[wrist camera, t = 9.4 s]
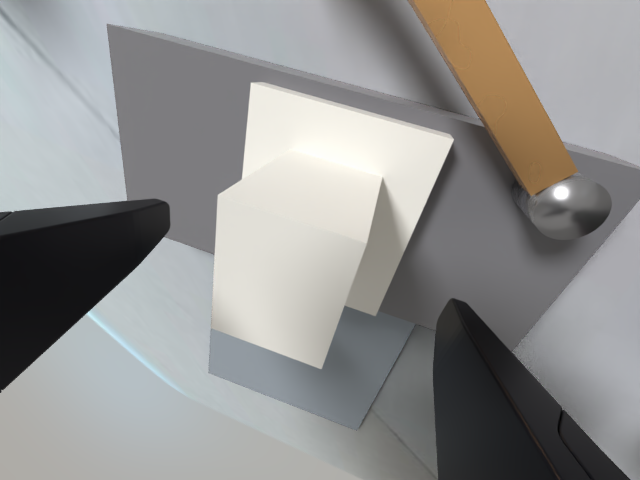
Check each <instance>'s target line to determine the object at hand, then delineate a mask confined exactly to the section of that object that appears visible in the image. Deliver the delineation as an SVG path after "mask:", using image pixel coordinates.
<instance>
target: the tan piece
mask: <svg viewBox="0 0 640 480" xmlns="http://www.w3.org/2000/svg"><path fill="white" fill-rule="evenodd" d="M408 1H409V3H410V5H411V6H412V8H413V10H414V11H415V13H416V15H417V16H418V18H419V20H420V21H421V23H422V24H423V26H424V28H425V29H426V31H427V33H428V34H429V36H430V38H431V39H432V41H433V43H434V44H435V46H436V48H437V49H438V51H439V52H440V54H441V56H442V57H443V59H444V61H445V62H446V64H447V66H448V67H449V69H450V71H451V72H452V74H453V76H454V77H455V79H456V81H457V82H458V84H459V85H460V87H461V89H462V90H463V92H464V94H465V95H466V97H467V99H468V100H469V102H470V104H471V105H472V107H473V109H474V110H475V112H476V113H477V115H478V117H479V118H480V120H481V122H482V123H483V125H484V127H485V128H486V130H487V132H488V133H489V135H490V137H491V138H492V140H493V141H494V143H495V145H496V146H497V148H498V150H499V151H500V153H501V155H502V156H503V158H504V160H505V161H506V163H507V165H508V166H509V168H510V169H511V171H512V173H513V174H514V176H515V178H516V179H515V181H514V183H513V186H512V197H513V200H514V201H515V203H516V204H517V205H518V206H519V208H520V209H521V210H522V211H523V212H524V213H525V215H526V216H527V217H528V218H529V219H530V220H531V222H532V223H533V224H534V225H535V226H536V228H537V229H538V230H539V231H540V232H541V233H542V234H544V235H545V236H547V237H550V238H552V239H557V240H571V239H576V238H580V237H583V236H585V235H588V234H590V233H591V232H593V231H595V230H596V229H597V228H599V227H600V226H601V225H602V224H603V223H604V222H605V220H606V219H607V217H608V216H609V214H610V211H611V207H612V200H611V196H610V194H609V192H608V191H607V190H606V189H605V188H604V187H603V186H601V185H600V184H598V183H596V182H594V181H593V180H591V179H589V178H587V177H586V176H584V175H582V174H580V173H579V172H578V170H577V168H576V166H575V164H574V163H573V161H572V159H571V157H570V155H569V153H568V152H567V150H566V148H565V146H564V144H563V142H562V141H561V139H560V137H559V135H558V133H557V131H556V130H555V128H554V126H553V124H552V122H551V120H550V119H549V117H548V115H547V113H546V111H545V109H544V108H543V106H542V104H541V102H540V100H539V98H538V96H537V95H536V93H535V91H534V89H533V87H532V85H531V84H530V82H529V80H528V78H527V76H526V74H525V73H524V71H523V69H522V67H521V65H520V63H519V62H518V60H517V58H516V56H515V54H514V52H513V51H512V49H511V47H510V45H509V43H508V41H507V40H506V38H505V36H504V34H503V32H502V30H501V29H500V27H499V25H498V23H497V21H496V19H495V18H494V16H493V14H492V12H491V10H490V8H489V7H488V5H487V3H486V1H485V0H408Z"/></svg>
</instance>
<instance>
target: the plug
mask: <svg viewBox="0 0 640 480" xmlns="http://www.w3.org/2000/svg"><path fill="white" fill-rule="evenodd" d="M453 141H454V139H453V137H452V136H451V135H450V134H447V133H444V132H440V131H437V130H433V129H429V128H426V127H422V126H419V125H415V124H411V123H408V122H404V121H401V120H397V119H393V118H390V117H386V116H383V115H379V114H376V113H372V112H368V111H365V110H361V109H358V108H354V107H350V106H347V105H343V104H340V103H336V102H333V101H329V100H325V99H322V98H318V97H315V96H311V95H307V94H304V93H300V92H297V91H293V90H289V89H286V88H282V87H279V86H275V85H272V84H268V83H264V82H253V83H251V87H250V97H249V108H248V119H247V130H246V140H245V151H244V162H243V173H242V180H240V181H239V182H237V183H236V184H234V185H233V186H231V187H229V188H228V189H226V190H225V191H223V192H222V193H220V194H218V199H217V219H216V239H215V258H214V278H213V297H212V317H211V328H212V329H215V330H217V331H220V332H223V333H225V334H228V335H231V336H233V337H236V338H239V339H241V340H244V341H247V342H249V343H252V344H255V345H258V346H260V347H263V348H266V349H268V350H271V351H274V352H276V353H279V354H282V355H284V356H287V357H290V358H292V359H295V360H298V361H300V362H303V363H306V364H308V365H311V366H314V367H316V368H319V369H322V367H323V364H324V361H325V358H326V355H327V353H328V350H329V347H330V344H331V342H332V339H333V336H334V333H335V330H336V328H337V325H338V322H339V319H340V317H341V314H342V311H343V308H344V305H345V306H347V307H350V308H353V309H356V310H359V311H362V312H365V313H368V314H370V315H373V316H376V314H377V312H378V310H379V307H380V305H381V303H382V301H383V298H384V296H385V294H386V292H387V289H388V287H389V285H390V283H391V280H392V278H393V276H394V274H395V271H396V269H397V267H398V265H399V262H400V260H401V258H402V256H403V253H404V251H405V249H406V247H407V244H408V242H409V240H410V238H411V235H412V233H413V231H414V229H415V226H416V224H417V222H418V220H419V217H420V215H421V213H422V211H423V208H424V206H425V204H426V202H427V199H428V197H429V195H430V193H431V190H432V188H433V186H434V184H435V181H436V179H437V177H438V174H439V172H440V170H441V168H442V165H443V163H444V161H445V159H446V156H447V154H448V152H449V150H450V147H451V145H452V143H453Z"/></svg>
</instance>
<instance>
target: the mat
mask: <svg viewBox="0 0 640 480" xmlns="http://www.w3.org/2000/svg"><path fill="white" fill-rule="evenodd" d="M214 258H215V256H214ZM213 278H214V276H213ZM212 297H213V296H212ZM211 317H212V315H211ZM415 325H416V324H414V323H411V322H408V321H406V320H403V319H400V318H397V317H394V316H391V315H388V314H385V313H382V312H380V311H378V312H377V314H376V316H373V315H370V314H368V313H365V312H362V311H359V310H356V309H353V308H350V307H347V306H345V305H344V308H343V311H342V314H341V317H340V319H339V322H338V325H337V328H336V330H335V333H334V336H333V339H332V342H331V344H330V347H329V350H328V353H327V355H326V358H325V361H324V364H323V367H322V369H319V368H316V367H314V366H311V365H308V364H306V363H303V362H300V361H298V360H295V359H292V358H290V357H287V356H284V355H282V354H279V353H276V352H274V351H271V350H268V349H266V348H263V347H260V346H258V345H255V344H252V343H249V342H247V341H244V340H241V339H239V338H236V337H233V336H231V335H228V334H225V333H223V332H220V331H217V330H215V329H212V328H211V335H210V355H209V373H210V374H213V375H215V376H218V377H220V378H223V379H225V380H228V381H231V382H233V383H236V384H238V385H241V386H243V387H246V388H249V389H251V390H254V391H256V392H259V393H261V394H264V395H267V396H269V397H272V398H274V399H277V400H279V401H282V402H285V403H287V404H290V405H292V406H295V407H297V408H300V409H302V410H305V411H308V412H310V413H313V414H315V415H318V416H320V417H323V418H326V419H328V420H331V421H333V422H336V423H338V424H341V425H344V426H346V427H349V428H351V429H354V430H356V431H357V430H358V428H359V426H360V424H361V423H362V421H363V419H364V417H365V415H366V414H367V412H368V410H369V408H370V406H371V404H372V403H373V401H374V399H375V397H376V395H377V394H378V392H379V390H380V388H381V386H382V384H383V383H384V381H385V379H386V377H387V375H388V374H389V372H390V370H391V368H392V366H393V364H394V363H395V361H396V359H397V357H398V355H399V354H400V352H401V350H402V348H403V346H404V344H405V343H406V341H407V339H408V337H409V335H410V334H411V332H412V330H413V328H414V326H415Z"/></svg>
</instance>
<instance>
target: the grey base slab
mask: <svg viewBox="0 0 640 480" xmlns="http://www.w3.org/2000/svg"><path fill="white" fill-rule="evenodd" d="M107 31H108V40H109V48H110V57H111V65H112V74H113V82H114V91H115V99H116V108H117V116H118V125H119V133H120V142H121V150H122V159H123V167H124V176H125V184H126V193H127V201H131V200H142V199H153V198H155V199H159V200H162V201H165V202H167V203H168V204H169V206H170V224H171V225H170V229H169V231H168V233H167V234H166V235H165V236H164V237H166V238H169V239H171V240H174V241H177V242H180V243H183V244H186V245H189V246H192V247H195V248H197V249H200V250H203V251H206V252H209V253H212V254H215V239H216V219H217V199H218V194H220V193H222V192H223V191H225V190H226V189H228V188H229V187H231V186H233V185H234V184H236V183H237V182H239V181H240V180H242V173H243V162H244V151H245V140H246V130H247V119H248V108H249V97H250V87H251V83H253V82H264V83H268V84H272V85H275V86H279V87H282V88H286V89H289V90H293V91H297V92H300V93H304V94H307V95H311V96H315V97H318V98H322V99H325V100H329V101H333V102H336V103H340V104H343V105H347V106H350V107H354V108H358V109H361V110H365V111H368V112H372V113H376V114H379V115H383V116H386V117H390V118H393V119H397V120H401V121H404V122H408V123H411V124H415V125H419V126H422V127H426V128H429V129H433V130H437V131H440V132H444V133H447V134H450V135H451V136H452V137H453V139H454V141H453V143H452V145H451V147H450V150H449V152H448V154H447V156H446V159H445V161H444V163H443V165H442V168H441V170H440V172H439V174H438V177H437V179H436V181H435V184H434V186H433V188H432V190H431V193H430V195H429V197H428V199H427V202H426V204H425V206H424V208H423V211H422V213H421V215H420V217H419V220H418V222H417V224H416V226H415V229H414V231H413V233H412V235H411V238H410V240H409V242H408V244H407V247H406V249H405V251H404V253H403V256H402V258H401V260H400V262H399V265H398V267H397V269H396V271H395V274H394V276H393V278H392V280H391V283H390V285H389V287H388V289H387V292H386V294H385V296H384V298H383V301H382V303H381V305H380V307H379V310H378V311H380V312H382V313H385V314H388V315H391V316H394V317H397V318H400V319H403V320H406V321H408V322H411V323H414V324H417V325H420V326H423V327H426V328H429V329H432V330H435V331H436V324H437V320H438V318H439V316H440V314H441V312H442V311H443V309H444V307H445V306H446V304H447V302H448V301H449V300H450V299H451V298H455V299H458V300H461V301H464V302H466V303H467V304H468V305H469V306H470V307H471V308H472V309H473V310H474V311H475V312H476V314H477V315H478V316H479V317H480V318H481V319H482V320H483V321H484V322H485V323H486V325H487V326H488V327H489V328H490V329H491V330H492V331H493V332H494V333H495V334H496V336H497V337H498V338H499V339H500V340H501V341H502V342H503V343H504V344H505V345H506V347H507V348H508V349H509V350H510V351H511V352H512V351H513V349H514V348H515V347H516V346H517V345H518V344H519V342H520V341H521V340H522V339H523V338H524V336H525V335H526V334H527V333H528V332H529V330H530V329H531V328H532V327H533V326H534V324H535V323H536V322H537V321H538V320H539V319H540V317H541V316H542V315H543V314H544V313H545V311H546V310H547V309H548V308H549V307H550V305H551V304H552V303H553V302H554V301H555V300H556V298H557V297H558V296H559V295H560V294H561V292H562V291H563V290H564V289H565V288H566V286H567V285H568V284H569V283H570V282H571V281H572V279H573V278H574V277H575V276H576V275H577V273H578V272H579V271H580V270H581V269H582V267H583V266H584V265H585V264H586V263H587V261H588V260H589V259H590V258H591V257H592V256H593V254H594V253H595V252H596V251H597V250H598V248H599V247H600V246H601V245H602V244H603V242H604V241H605V240H606V239H607V238H608V237H609V235H610V234H611V233H612V232H613V231H614V229H615V228H616V227H617V226H618V225H619V223H620V222H621V221H622V220H623V219H624V217H625V216H626V215H627V214H628V213H629V212H630V210H631V209H632V208H633V207H634V206H635V204H636V203H637V202H638V201H639V200H640V167H639V166H636V165H634V164H631V163H629V162H626V161H623V160H621V159H618V158H616V157H613V156H611V155H608V154H605V153H602V152H598V151H594V150H590V149H587V148H583V147H579V146H576V145H572V144H568V143H565V142H563V144H564V146H565V148H566V150H567V152H568V153H569V155H570V157H571V159H572V161H573V163H574V164H575V166H576V168H577V170H578V172H579V173H580V174H582V175H584V176H586V177H587V178H589V179H591V180H593V181H594V182H596V183H598V184H600V185H601V186H603V187H604V188H605V189H606V190H607V191H608V192H609V194H610V196H611V200H612V207H611V211H610V214H609V216H608V217H607V219H606V220H605V222H604V223H603V224H602V225H601V226H600V227H599V228H597V229H596V230H595V231H593V232H591V233H590V234H588V235H585V236H583V237H580V238H576V239H571V240H557V239H552V238H550V237H547V236H545V235H544V234H542V233H541V232H540V231H539V230H538V229H537V228H536V226H535V225H534V224H533V223H532V222H531V220H530V219H529V218H528V217H527V216H526V215H525V213H524V212H523V211H522V210H521V209H520V208H519V206H518V205H517V204H516V203H515V201H514V200H513V197H512V186H513V183H514V181H515V179H516V178H515V176H514V174H513V173H512V171H511V169H510V168H509V166H508V165H507V163H506V161H505V160H504V158H503V156H502V155H501V153H500V151H499V150H498V148H497V146H496V145H495V143H494V141H493V140H492V138H491V137H490V135H489V133H488V132H487V130H486V128H485V127H484V125H483V123H482V122H481V120H480V119H476V118H472V117H469V116H465V115H461V114H458V113H454V112H450V111H447V110H443V109H439V108H436V107H432V106H428V105H425V104H421V103H417V102H413V101H410V100H406V99H402V98H399V97H395V96H391V95H388V94H384V93H380V92H377V91H373V90H369V89H366V88H362V87H358V86H354V85H351V84H347V83H343V82H340V81H336V80H332V79H329V78H325V77H321V76H318V75H314V74H310V73H307V72H303V71H299V70H295V69H292V68H288V67H284V66H281V65H277V64H273V63H270V62H266V61H262V60H259V59H255V58H251V57H248V56H244V55H240V54H236V53H233V52H229V51H225V50H222V49H218V48H214V47H211V46H207V45H203V44H200V43H196V42H192V41H189V40H185V39H181V38H177V37H174V36H170V35H166V34H163V33H158V32H152V31H146V30H140V29H135V28H129V27H123V26H117V25H111V24H107Z"/></svg>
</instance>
